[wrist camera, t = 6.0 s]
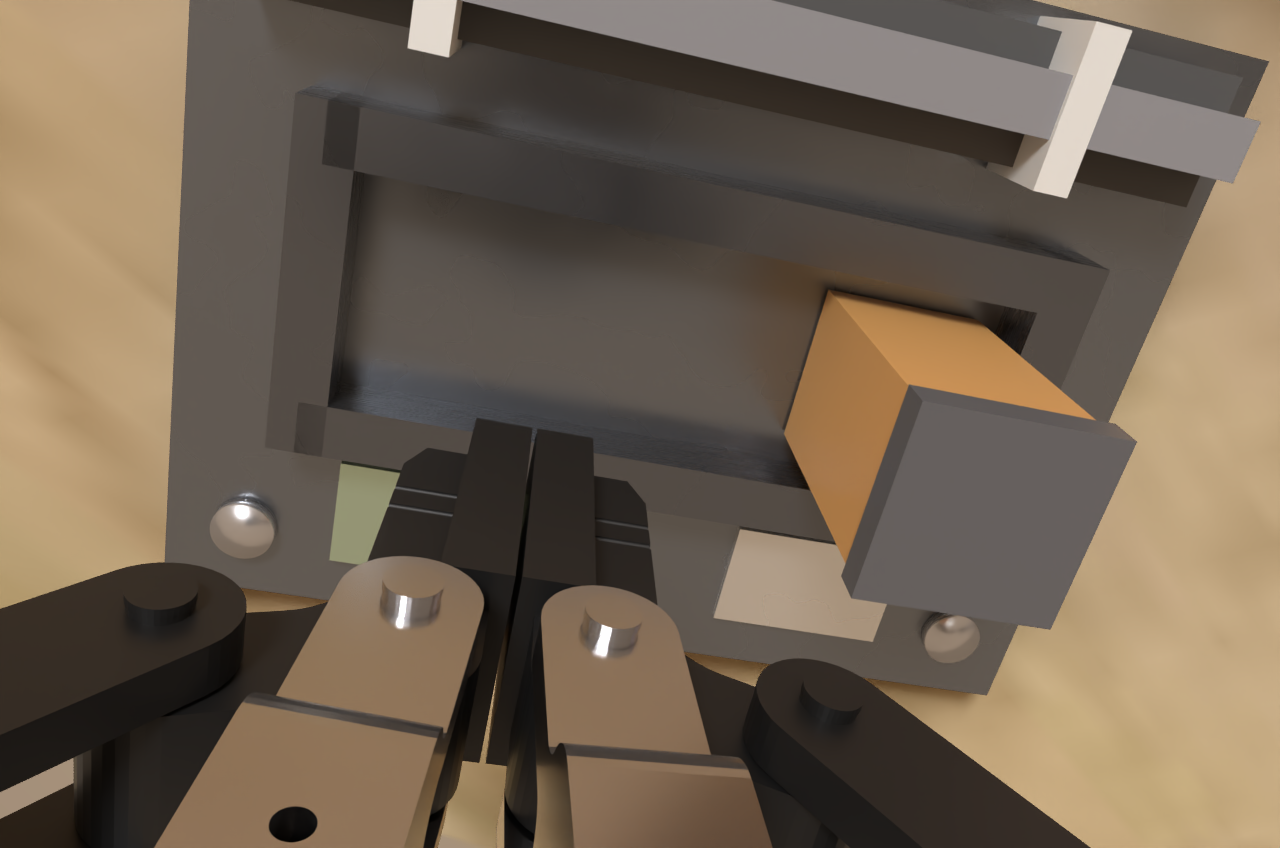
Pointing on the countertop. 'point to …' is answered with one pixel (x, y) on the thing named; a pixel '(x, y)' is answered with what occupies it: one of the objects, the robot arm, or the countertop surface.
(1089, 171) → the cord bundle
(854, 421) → the lever
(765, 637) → the breaker panel
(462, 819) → the countertop surface
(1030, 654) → the countertop surface
